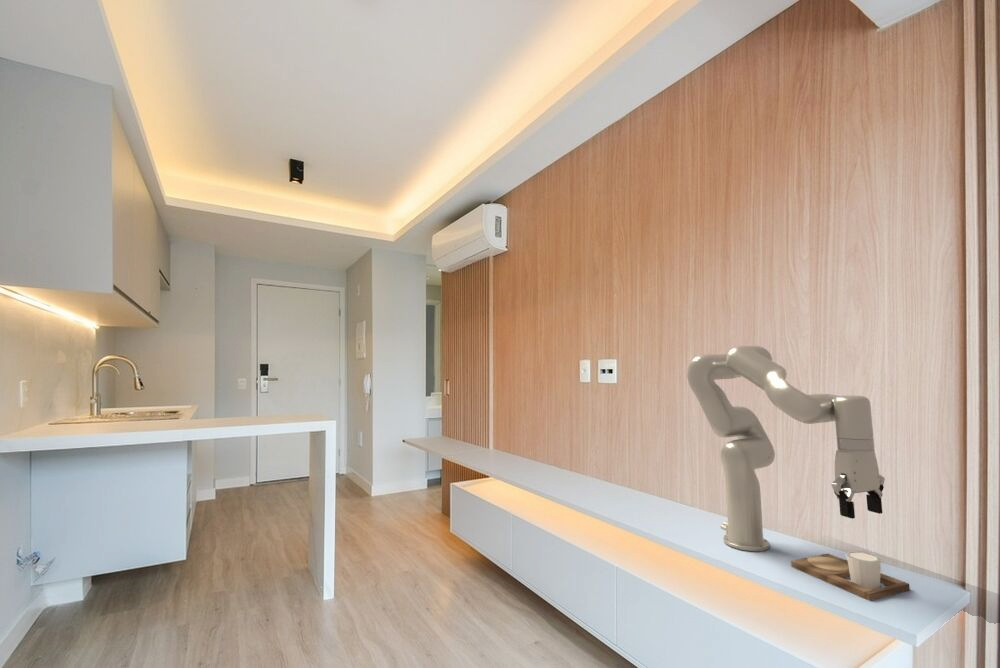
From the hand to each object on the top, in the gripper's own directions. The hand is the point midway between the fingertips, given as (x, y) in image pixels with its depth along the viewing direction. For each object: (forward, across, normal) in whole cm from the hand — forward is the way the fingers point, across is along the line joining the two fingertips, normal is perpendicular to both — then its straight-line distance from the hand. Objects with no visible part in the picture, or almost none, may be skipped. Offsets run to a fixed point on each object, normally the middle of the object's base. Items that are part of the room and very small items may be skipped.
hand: (861, 514), depth 117 cm
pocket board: (+17, 0, -5) cm, 18 cm away
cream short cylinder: (+17, 0, 0) cm, 17 cm away
